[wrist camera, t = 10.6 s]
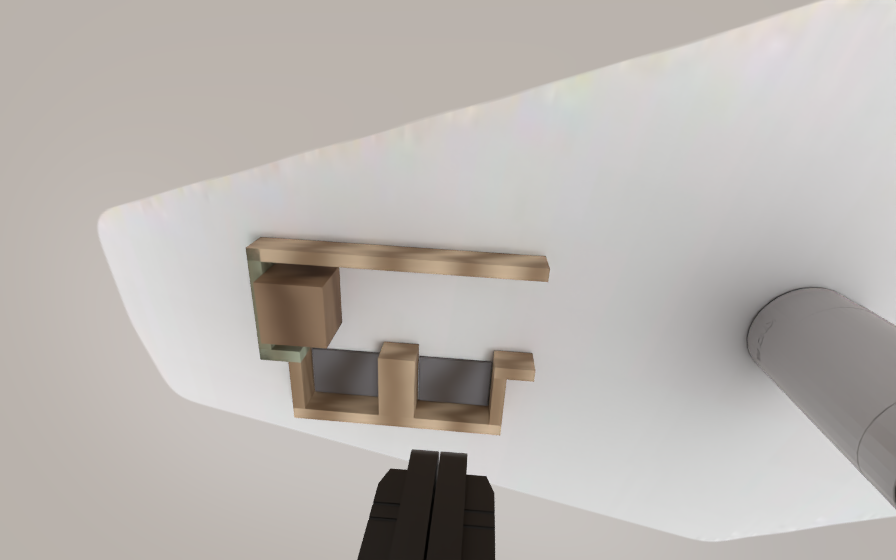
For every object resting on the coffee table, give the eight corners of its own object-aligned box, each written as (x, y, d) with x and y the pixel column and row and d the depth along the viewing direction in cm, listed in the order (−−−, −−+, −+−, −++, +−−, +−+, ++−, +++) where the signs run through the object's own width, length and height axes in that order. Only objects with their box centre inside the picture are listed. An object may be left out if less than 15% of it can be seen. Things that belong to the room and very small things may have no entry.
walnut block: (339, 265, 44) (322, 287, 39) (342, 321, 46) (326, 348, 42) (277, 261, 44) (253, 282, 40) (283, 317, 47) (261, 343, 42)
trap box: (545, 256, 42) (549, 268, 39) (523, 417, 49) (525, 437, 46) (260, 237, 43) (245, 247, 41) (279, 396, 50) (268, 415, 48)
